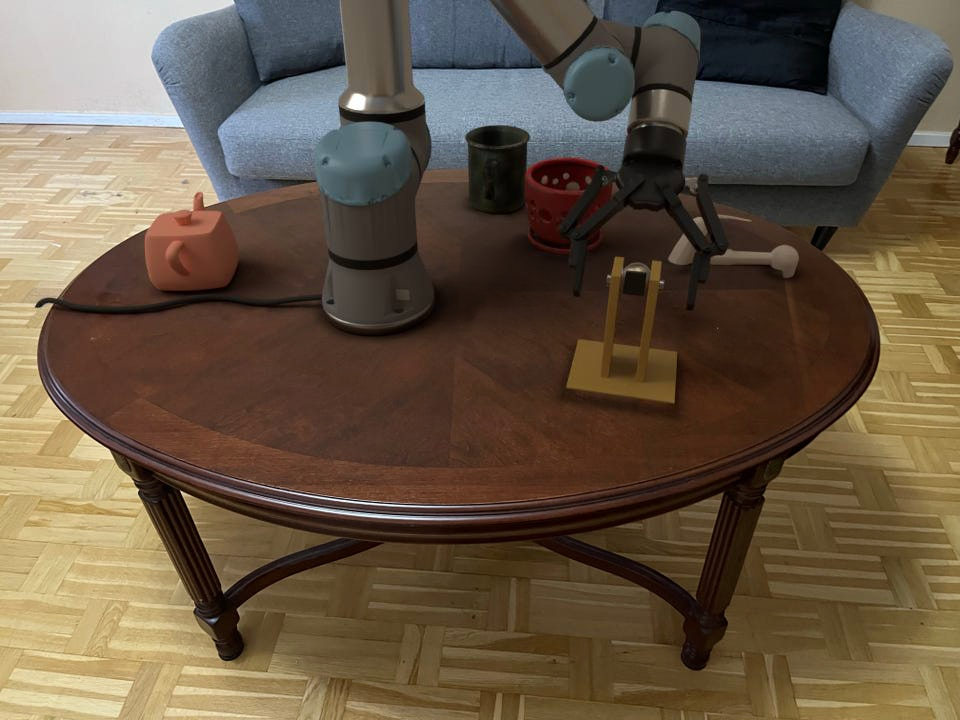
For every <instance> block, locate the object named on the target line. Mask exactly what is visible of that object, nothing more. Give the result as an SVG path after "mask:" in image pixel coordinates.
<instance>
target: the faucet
mask: <svg viewBox="0 0 960 720" xmlns="http://www.w3.org/2000/svg"><path fill="white" fill-rule="evenodd" d="M717 215H718V217H719V220H720V219H721V220H734V221H742V222H749V223H750V222H752V221H753V220H751V219H746V218H742V217H738V216H733V215H726V214H718V213H717ZM692 219H693V220H694V222H695V223H696V224H697V226H698V227H699V229H700V230H701V231H702V233H703V234H704V236H705V237H706V236H707V235H708V231H707V229H706V226H705V224H704V221H703V219H702V216H697V217H694V218H692ZM695 252H696V250H695V249H694V247H693V246H692V245H691V243H690V242H689V240H688V239H687V238H686V236H685V235H684V233H683V232H682V236H681V237H680V238H679V240H678V241H677V242H676V244H675V245H674V247H673V248H672V250H671V252H670V254H669V256H668V257H667V260H668V261H669V262H670V263H671V264H673V265H678V266H687V265H689V264H692V261H693V257H694V254H695ZM799 262H800V257H799V252H798V250H796V248H795V247H793V246H791V245H788V244H782V245H779V246H776V247H775V248H774V249H772V251H771V252H765V251H742V250H740V251H739V250H733V249H732V248H727V250H726V253H725V254H724V255H722V256H719V255H717V256H713V257H712V258H711V260H710V265H714V266H715V265H716V266H732V265H734V266H735V265H736V266H738V265H740V266H741V265H742V266H743V265H745V266H770V267H771V268H772V269H775V270H778V271H781V273H782V278H783V279H788V278H792V277H794V275H795V272H796V269H797V266H798V264H799Z"/></svg>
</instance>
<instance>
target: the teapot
mask: <svg viewBox="0 0 960 720" xmlns="http://www.w3.org/2000/svg"><path fill="white" fill-rule="evenodd" d="M144 257H145V265H146V269H147V274H148V277H149V280H150V282H151V283H152V285H153V286H154V287H155V288H156V289H157V290H159V291H172V292H173V291H176V292H179V291H181V292H189V291H201V290H202V291H203V290H213V289H220V288H224V287H226V286H228V285H229V284H230V283H231V281H232V279H233V277H234V275H235V273H236V271H237V268H238V265H239V259H240V249H239V246H238V243H237V240H236V236H235V234H234V231H233V230H232V227H231V226H230V223H229V221H228V220H227V218H226V216H225V215H224V213H223V212H222V211H218V210H206V207H205V204H204V193H203V192H202V191H198V192H196V193H195V194H194V197H193V205H192V210H190V209H178V210H176V211H172V212H165V213H161V214H159V215H158V216H157V217H156V218H155V219H154V220H153V222H151V224H150V226H149V227H148V229H147V230H146V233H145V234H144Z"/></svg>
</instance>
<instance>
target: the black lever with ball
mask: <svg viewBox="0 0 960 720" xmlns="http://www.w3.org/2000/svg"><path fill="white" fill-rule="evenodd" d="M650 274H651V268H649V267H648V266H647V264H645V263H642V262H632V263H629V264H628V265H627V266H625V267H624V268H623V274H622V282H621V284H622V285H623V288H622V294H623V295H630V296H637V297H644V296H645V290H648V288H649V281H650Z"/></svg>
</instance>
